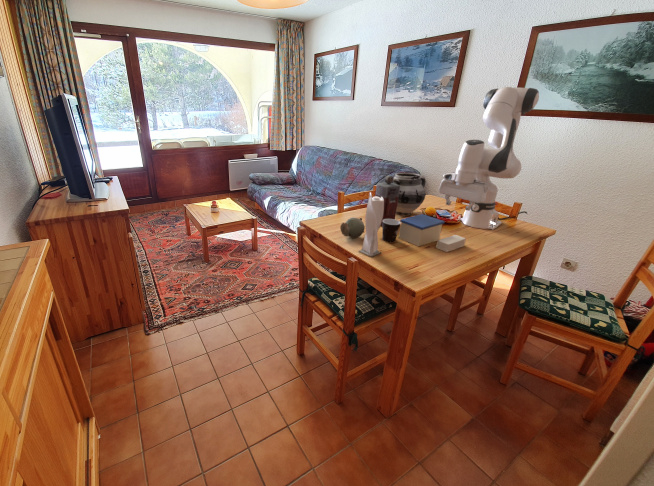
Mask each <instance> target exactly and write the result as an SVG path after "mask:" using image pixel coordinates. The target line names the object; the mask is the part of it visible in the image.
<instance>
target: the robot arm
mask: <svg viewBox="0 0 654 486" xmlns="http://www.w3.org/2000/svg"><path fill="white" fill-rule="evenodd" d="M539 99H540V92H539V90H538V89H537V88H534V87H528V88H527V87H516V86H515V87H514V86H513V87H512V86H504V87H501V88H493V89H490V90H489V91H488V92H486V94H485V95H484V97H483V103H482V104H483V105H482V106H483V109H484V113H483V115H482V122H483V125H485V126H486V127H487V128H488V129H490V132H489V136H488V139H487V143H488V146H489V147H485V141H483V140H481V139H468V140H466V141H464V143H463V145H462V146H461V150H460V151H459V152H460V153H459V156H458V159H457V167H456V169H455V171H454V172H450V173H449V172H448V173H444V174H443V176H442V178H443V179H441V182H440V184H439V187H438V193H439V194H441V195H444V199H445V205H447V206H450V205H452V201H451V199H450V198H451V197H453V198H457V199H461V200H465V201H468V202H469V205H465V208H464V210H465V211H464V213H463V215H462V217H460V219H459V220H460V221H462V224H463V225H466V226H468V227H471V228H476V229H483V230H484V229H485V230H495V229H497V228H498V227H500V226H501V225H502V221H501V220H506V219H510V218H512V217H510V216H506V217H501V218H500V214H499V212H498V211H497V210H496V209H495V208H496V206H497V205H498V204H499V202H498V201H496V199H497V195H498V191H499V189H498V187H497V185H496V184H494V183H493V182H492V181H491V178H497V179H515V177H517V176H518V175H519V174H520V173H521V171H522V163H521V160H520V159H518V157H517V156H516V155H515V152H514V143H515V138H516V135H517V132H518V129H519V127H520V122H521V116H524V115H525V114H527V113H530V112H531V111H532V110H533V109H534V108H535V107H536V106H537V104H538V102H539ZM490 177H491V178H490ZM517 213H518V214H517V215H520V214H524V213H525V214H526V215H527V214H528V211H519V212H517Z"/></svg>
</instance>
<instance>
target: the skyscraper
mask: <svg viewBox="0 0 654 486" xmlns="http://www.w3.org/2000/svg"><path fill="white" fill-rule="evenodd" d="M382 199H383V197H381V198H380V197H377V196H375V195H374V196H373V195H372V192H369V194H368V199H367V204H366V210H365V217H364V221H365V222H364V226H365V235H364V239H363V242H362V247H361V249H360V250H358V252H359V253H361V254H364V255H366V256H368V257H370V258H373V257H375V256H377V255H379V254H381V251H379V235H378V232H379V230H380V228H381V226H380V225H381V222H382V218H383V211H384V199H383V200H382Z"/></svg>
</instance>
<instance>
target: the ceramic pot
mask: <svg viewBox="0 0 654 486" xmlns="http://www.w3.org/2000/svg"><path fill="white" fill-rule="evenodd" d="M392 183H394V184H397V185H400V190H399V197H398V203H397V210H396V215H398V216H404V217H405V216H408V217H409V216H411V215H412V214H413V212H414V211H416V210H417V209H418V208H419V207H420V206H421V205H422V204H423V203H424V201H425V199H426V190H425V186H426V177H425V176H423V175H422V174H421V175H420V174H419V173H412V172H398V173H395V174H394V176H393V182H392Z"/></svg>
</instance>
